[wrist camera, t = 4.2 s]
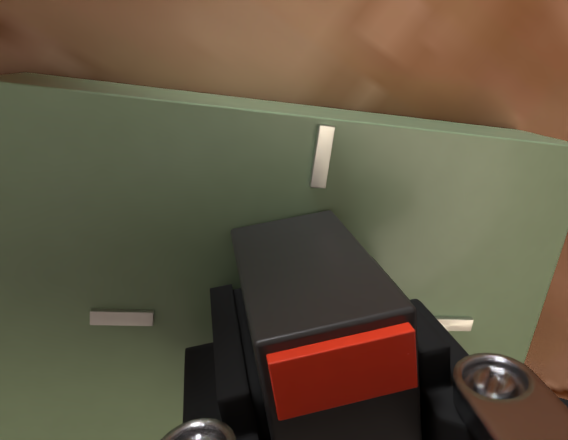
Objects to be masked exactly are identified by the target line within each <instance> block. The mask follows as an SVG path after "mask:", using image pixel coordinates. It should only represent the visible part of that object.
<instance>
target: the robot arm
mask: <svg viewBox="0 0 568 440" xmlns="http://www.w3.org/2000/svg"><path fill="white" fill-rule="evenodd" d="M371 257H372V256H371ZM372 258H373V257H372ZM373 259H374V258H373ZM374 260H375V259H374ZM375 261H376V260H375ZM377 264H378V263H377ZM378 265H379V264H378ZM379 266H380V265H379ZM380 267H381V266H380ZM381 268H382V267H381ZM382 269H383V268H382ZM384 272H385V271H384ZM385 273H386V272H385ZM386 274H387V273H386ZM387 275H388V274H387ZM388 276H389V275H388ZM389 277H390V276H389ZM390 279H391V278H390ZM391 280H392V279H391ZM392 281H393V280H392ZM393 282H394V281H393ZM394 283H395V282H394ZM395 284H396V283H395ZM397 287H398V286H397ZM398 288H399V287H398ZM399 289H400V288H399ZM400 290H401V289H400ZM401 291H402V290H401ZM402 292H403V291H402ZM403 294H404V293H403ZM404 295H405V294H404ZM405 296H406V295H405ZM406 297H407V296H406ZM407 298H408V297H407ZM408 299H409V298H408ZM210 301H211V316H212V332H213V342H212V343H207V344H202V345H198V346H193V347H188V348H186V349H185V363H184V395H183V423H182V424H180V425H178V426H177V427H175V428H174V429H172V430H171V431H169V432H168V433H167V434H166V435H165V436H164V437H163V438H162V439H161V440H271V438H270V433H269V427H268V422H267V417H266V412H265V407H264V402H263V396H262V391H261V386H260V381H259V376H258V371H257V366H256V361H255V356H254V351H253V346H252V341H251V336H250V331H249V326H248V321H247V316H246V310H245V305H244V300H243V295H242V290H241V288H238V289H234V290H233V287H232V284H229V285H224V286H219V287H214V288H210ZM410 302H411V303H412V304H413V305H414V306H415V308H416V321H417V343H418V364H419V386H420V408H421V430H422V440H568V400H565V399H562V398H558V397H557V396H556V395H555V394H554V393H553V392H552V390H551V389H550V388H549V387H548V386H547V385H546V384H545V383H544V382H543V381H542V380H541V379H540V378H539V377H538V376H537V375H536V374H535V373H534V372H533V371H532V370H531V369H530V368H529V367H527V366H526V365H525V364H524V363H522V362H520V361H518V360H516V359H514V358H512V357H509V356H505V355H501V354H495V353H476V354H472V355H469V354H468V353H467V352H466V351H465V350H464V349H463V347H462V346H461V345H460V344H459V343H458V342H457V341H456V340H455V339H454V337H453V336H452V335H451V334H450V333H449V332H448V331H447V330H446V329H445V328H444V326H443V325H442V324H441V323H440V322H439V321H438V320H437V319H436V318H435V317H434V315H433V314H432V313H431V312H430V311H429V310H428V309H427V308H426V307H425V306H424V304H423V303H422V302H421V301H419V300H418V299H411V300H410Z"/></svg>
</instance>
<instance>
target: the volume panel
mask: <svg viewBox="0 0 568 440" xmlns="http://www.w3.org/2000/svg"><path fill="white" fill-rule="evenodd" d="M327 210H331V211H332V212H333V213H334V214H335V215H336V216H337V217H338V219H339V220H340V221H341V222H342V223H343V224H344V226H345V227H346V228H347V229H348V230H349V231H350V232H351V234H352V235H353V236H354V237H355V238H356V239H357V241H358V242H359V243H360V244H361V245H362V246H363V247H364V249H365V250H366V251H367V252H368V253H369V254H370V255H371V256H372V257H373V258H374V259H375V260H376V262H377V263H378V264H379V265H380V266H381V267H382V268H383V270H384V271H385V272H386V273H387V274H388V275H389V276H390V278H391V279H392V280H393V281H394V282H395V283H396V285H397V286H398V287H399V288H400V289H401V290H402V291H403V293H404V294H405V295H406V296H407V297H408V298H409V300H411V299H418V300H419V301H421V302H422V303H423V304H424V306H425V307H426V308H427V309H428V310H429V311H430V312H431V313H432V314H433V315H434V317H435V318H436V319H437V320H438V321H439V322H440V323H441V324H442V325H443V326H444V328H445V329H446V330H447V331H448V332H449V333H450V334H451V335H452V336H453V337H454V339H455V340H456V341H457V342H458V343H459V344H460V345H461V346H462V347H463V349H464V350H465V351H466V352H467V353H468V354H469V355H472V354H476V353H495V354H501V355H505V356H509V357H512V358H514V359H516V360H518V361H520V362H522V363H524V361H525V358H526V355H527V352H528V349H529V346H530V343H531V340H532V337H533V334H534V331H535V328H536V325H537V322H538V319H539V316H540V313H541V310H542V307H543V304H544V301H545V298H546V295H547V292H548V289H549V286H550V283H551V280H552V277H553V274H554V271H555V268H556V265H557V262H558V259H559V256H560V253H561V250H562V247H563V244H564V241H565V238H566V235H567V232H568V141H564V140H559V139H555V138H551V137H547V136H543V135H538V134H534V133H530V132H526V131H522V130H516V129H507V128H498V127H490V126H481V125H473V124H464V123H456V122H447V121H439V120H430V119H421V118H413V117H404V116H396V115H387V114H379V113H370V112H362V111H353V110H344V109H336V108H327V107H319V106H310V105H302V104H293V103H284V102H276V101H267V100H259V99H250V98H242V97H233V96H225V95H216V94H207V93H199V92H190V91H182V90H173V89H165V88H156V87H148V86H139V85H130V84H122V83H113V82H105V81H96V80H88V79H79V78H70V77H62V76H53V75H45V74H36V73H28V72H22V73H13V74H5V75H0V440H161V439H162V438H163V437H164V436H165V435H166V434H167V433H168V432H169V431H171V430H172V429H174V428H175V427H177V426H178V425H180V424H182V423H183V395H184V363H185V349H186V348H188V347H193V346H198V345H202V344H207V343H212V342H213V332H212V316H211V301H210V288H214V287H219V286H224V285H229V284H232V287H233V290H234V289H238V288H241V285H240V280H239V275H238V270H237V265H236V260H235V254H234V249H233V244H232V239H231V234H230V232H231V230H232V229H234V228H239V227H245V226H250V225H255V224H260V223H265V222H270V221H275V220H281V219H286V218H291V217H296V216H301V215H306V214H312V213H317V212H322V211H327Z"/></svg>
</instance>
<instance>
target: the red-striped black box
mask: <svg viewBox="0 0 568 440" xmlns="http://www.w3.org/2000/svg"><path fill="white" fill-rule="evenodd" d="M230 234H231V239H232V244H233V249H234V254H235V260H236V265H237V270H238V275H239V280H240V285H241V290H242V295H243V300H244V305H245V310H246V316H247V321H248V326H249V331H250V336H251V341H252V346H253V351H254V356H255V361H256V366H257V371H258V376H259V381H260V386H261V391H262V396H263V402H264V407H265V412H266V417H267V422H268V427H269V433H270V438H271V440H422V430H421V408H420V386H419V364H418V343H417V321H416V308H415V306H414V305H413V304H412V303H411V302H410V300H409V299H408V298H407V297H406V296H405V295H404V294H403V292H402V291H401V290H400V289H399V288H398V287H397V285H396V284H395V283H394V282H393V281H392V280H391V279H390V277H389V276H388V275H387V274H386V273H385V272H384V270H383V269H382V268H381V267H380V266H379V265H378V264H377V262H376V261H375V260H374V259H373V258H372V257H371V255H370V254H369V253H368V252H367V251H366V250H365V249H364V247H363V246H362V245H361V244H360V243H359V242H358V241H357V239H356V238H355V237H354V236H353V235H352V234H351V232H350V231H349V230H348V229H347V228H346V227H345V226H344V224H343V223H342V222H341V221H340V220H339V219H338V217H337V216H336V215H335V214H334V213H333V212H332V211H331V210H327V211H322V212H317V213H312V214H306V215H301V216H296V217H291V218H286V219H281V220H275V221H270V222H265V223H260V224H255V225H250V226H245V227H239V228H234V229H232V230H231V232H230Z"/></svg>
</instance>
